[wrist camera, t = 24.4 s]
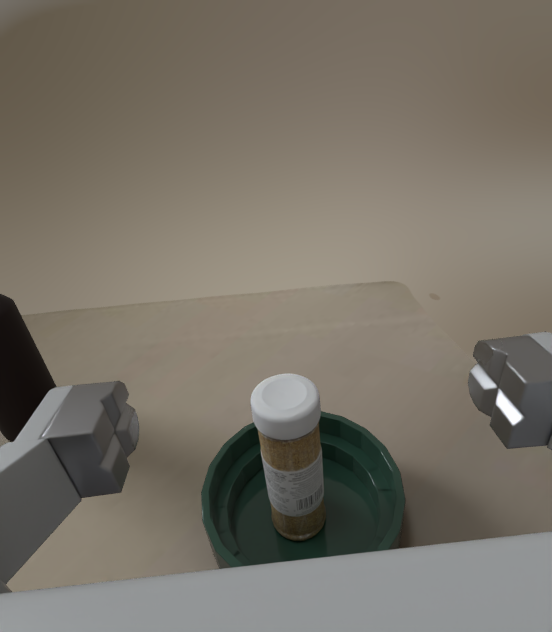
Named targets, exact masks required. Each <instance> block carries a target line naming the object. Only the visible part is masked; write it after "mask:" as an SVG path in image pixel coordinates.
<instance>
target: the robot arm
mask: <svg viewBox="0 0 552 632" xmlns="http://www.w3.org/2000/svg"><path fill="white" fill-rule="evenodd" d="M473 357H474V358H475V359H476V361H477V362H478V363H477V364H476V365H475V366H474V367H473V368H472V369H471V370H470V373H469V379H468V386H469V392H470V396H471V398H472V400H473V402H474V404H475V405H476V407H477V408H478V410H479V411H481V412H483V413H484V414H486V415H488V416H490V417H491V422H490V426H491V428H492V429H493V430H494V432H495V433H496V435H497V436H498V437H499V439H500V440H501V441H502V443H503V444H504V445H505V447H506V448H507V449H511V448H522V447H534V446H546V445H548V446H547V448H549V449H550V450H552V333H549V332H540V333H532V334H525V335H522V336H516V337H507V338H498V339H490V340H481V341H478V342H477V344H476V345H475V348H474V352H473ZM128 396H129V393H128V391H127V388H126V386H125V384H124V383H122V382H120V381H114V382H103V383H92V384H82V385H76V386H75V385H72V386H63V387H55V388H53V389H51V390H49V392H48V393H47V394H46V396H45V397H44V399H43V400H42V402H41V403H40V405H39V406H38V407H37V409H36V410H35V412H34V413H33V415H32V416H31V418H30V419H29V420H28V422H27V423H26V425H25V426H24V428H23V429H22V431H21V432H20V433H19V435H18V436H17V438H16V439H15V441H14V442H11V443H5V444H4V445H2V446H1V447H0V632H552V531H551V532H542V533H533V534H525V535H516V536H507V537H498V538H489V539H480V540H472V541H463V542H454V543H445V544H436V545H427V546H419V547H410V548H401V549H392V550H383V551H375V552H366V553H357V554H348V555H339V556H331V557H322V558H313V559H304V560H295V561H286V562H277V563H269V564H260V565H251V566H242V567H233V568H224V569H215V570H206V571H197V572H188V573H179V574H170V575H161V576H152V577H143V578H134V579H126V580H117V581H108V582H99V583H90V584H81V585H72V586H64V587H55V588H46V589H37V590H28V591H19V592H12V591H11V590H10V589H9V588H8V587H7V586H6V584H7V582H8V581H9V580H10V579H11V578H12V577H13V576H14V575H15V574H16V572H17V571H18V570H19V569H20V568H21V567H22V566H23V565H24V564H25V562H26V561H27V560H28V559H29V558H30V557H31V556H32V555H33V554H34V553H35V551H36V550H37V549H38V548H39V547H40V546H41V545H42V544H43V543H44V541H45V540H46V539H47V538H48V537H49V536H50V535H51V534H52V533H53V531H54V530H55V529H56V528H57V527H58V526H59V525H60V524H61V523H62V521H63V520H64V519H65V518H66V517H67V516H68V515H69V514H70V513H71V512H72V510H73V509H74V508H75V507H76V506H77V505H78V504H79V503H80V502H81V500H82V499H81V498H85V497H92V496H99V495H106V494H113V493H120V492H121V491H122V488H123V485H124V482H125V479H126V476H127V473H128V470H129V467H130V465H129V463H128V461H127V457H128V456H129V455H130V454H131V453H132V452H133V451H134V450H135V449H136V445H137V442H138V437H139V422H138V417H137V414H136V411H135V409H134V408H133V407H131V406H130V405H128V404H127V403H126V401H127V399H128Z"/></svg>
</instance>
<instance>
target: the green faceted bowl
mask: <svg viewBox="0 0 552 632" xmlns="http://www.w3.org/2000/svg"><path fill="white" fill-rule="evenodd" d="M319 432H320V444H321V448H322V464H323V482H324V496H323V499H324V505H325V510H326V518H325V522H324V525H323V527H322V529H321V530H320V531H319V532H318V533H317V534H316V535H314V536H313V537H312V538H310V539H307V540H304V541H294V540H290V539H287V538H285V537H283V536H282V535H281V534H280V533H279V532H278V531H277V530H276V528H275V527H274V524H273V522H272V517H271V515H272V509H271V503H270V499H269V496H268V490H267V484H266V478H265V473H264V467H263V462H262V456H261V445H260V440H259V434H258V429H257V427H256V426H255V424H254V422H253V423H251V424H249V425H247V426H245V427H244V428H242V429H241V430H240V431H239V432H238V433H236V434H235V435H234V436H233V437H232V438H230V439H229V440H228V441H227V442H226V443H225V444H224V445H223V446H222V448H221V449H220V451H219V452H218V454H217V455H216V457H215V458H214V460H213V461H212V462H211V464H210V466H209V469H208V472H207V475H206V478H205V482H204V485H203V488H202V492H201V497H202V521H203V524H204V527H205V530H206V533H207V536H208V539H209V542H210V546H211V549H212V552H213V555H214V557H215V559H216V562H217V564H218V567H219V569H224V568H233V567H242V566H251V565H260V564H269V563H277V562H286V561H295V560H304V559H313V558H322V557H331V556H339V555H348V554H357V553H366V552H375V551H383V550H392V549H399V546H400V540H401V534H402V525H403V517H404V509H405V495H404V490H403V485H402V480H401V474H400V471H399V469H398V467H397V466H396V464H395V462H394V460H393V459H392V457H391V455H390V453H389V452H388V450H387V448H386V447H385V446H384V445H383V444H382V443H381V442H380V441H379V440H378V439H377V438H376V437H375V436H373V435H372V434H371V433H370V432H369V431H368V430H367V429H365V428H364V427H362V426H360V425H358V424H356V423H354V422H352V421H350V420H348V419H346V418H345V417H342V416H338V415H334V414H330V413H326V412H322V411H321V415H320V419H319Z"/></svg>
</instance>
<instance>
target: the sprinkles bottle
mask: <svg viewBox="0 0 552 632" xmlns="http://www.w3.org/2000/svg"><path fill="white" fill-rule="evenodd" d="M251 410H252V416H253V421H254V424H255V426H256V427H257V429H258V434H259V440H260V445H261V456H262V462H263V467H264V473H265V478H266V484H267V490H268V496H269V499H270V503H271V509H272V515H271V517H272V522H273V524H274V527H275V528H276V530H277V531H278V532H279V533H280V534H281V535H282V536H283V537H285V538H287V539H290V540H294V541H304V540H307V539H310V538H312V537H313V536H314V535H316V534H317V533H318V532H319V531H320V530H321V529H322V527H323V525H324V522H325V518H326V510H325V505H324V499H323V496H324V482H323V464H322V448H321V444H320V432H319V419H320V415H321V408H320V397H319V391H318V389H317V387H316V386H315V384H314V383H313V382H312V381H310V380H309V379H307V378H305V377H303V376H300V375H296V374H280V375H275V376H272V377H269V378H267V379H265V380H263V381H262V382H261V383H259V384H258V385H257V386H256V388H255V389H254V391H253V393H252V395H251Z"/></svg>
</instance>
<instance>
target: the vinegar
mask: <svg viewBox="0 0 552 632" xmlns="http://www.w3.org/2000/svg"><path fill="white" fill-rule="evenodd" d="M55 387H56V385H55V383H54V381H53V379H52V377H51V375H50V373H49V371H48V369H47V367H46V365H45V363H44V361H43V359H42V357H41V355H40V353H39V351H38V349H37V347H36V345H35V343H34V341H33V339H32V337H31V335H30V333H29V331H28V329H27V327H26V325H25V323H24V321H23V319H22V317H21V315H20V313H19V311H18V309H17V307H16V305H15V303H14V301H13V300H12V299H10V298H8V297H6V296H4V295H2V294H0V431H1V433H2V434H3V435H4V436H5V437H6V439H8V440H10V441H15V439H16V438H17V436H18V435H19V433H20V432H21V431H22V429H23V428H24V426H25V425H26V423H27V422H28V420H29V419H30V418H31V416H32V415H33V413H34V412H35V410H36V409H37V407H38V406H39V405H40V403H41V402H42V400H43V399H44V397H45V396H46V394H47V393H48V392H49V390H51V389H53V388H55Z"/></svg>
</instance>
